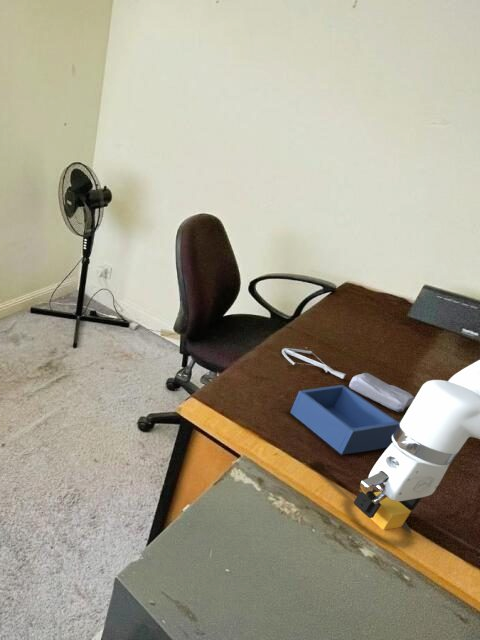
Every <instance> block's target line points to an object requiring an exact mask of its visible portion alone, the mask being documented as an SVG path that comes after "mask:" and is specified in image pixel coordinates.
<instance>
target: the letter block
mask: <svg viewBox="0 0 480 640" xmlns="http://www.w3.org/2000/svg"><path fill="white" fill-rule="evenodd" d="M373 493H374V494H375V495H376V496H377V495H379V494H380V493H382V491H380V490H379V491H374V492H373ZM379 503H380V504H381V506H380V507H379V509H378V510H377V512H376V514H375V515H374V517H373V518H370V520H371V521H373V522H374V523H375V524H376V526H378V527H379V528H380V529H381V530H383V531H385V530H391V529H396V528H402V527H401V526H402V525H403V523H404V522H406V520H407V519H408V517H409V516H410V514H411V512H412V510H409V509H408V508H406V507H405V506H404V505H403V504H402V503H400V502H399V501H393V500H391V499H390V498H389V497H388V496H387V497H386V498H385V499H383V500H382V501H380V502H379Z"/></svg>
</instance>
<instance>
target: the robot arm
mask: <svg viewBox="0 0 480 640" xmlns="http://www.w3.org/2000/svg"><path fill="white" fill-rule="evenodd" d="M407 408H408V409H406V412H405V414H404V415H403V416H402V419H401V420H400V422H399V425H398V427H397V428H396V430H395V432H394V434H393V435H392V441H391V442H390V444H389V446H388V447H387V448H386V449H385V450H384V452H383V453H382V454H381V455H380V456H379V458H378V459H377V461H376V462H375V464H374V465H373V467H372V469H371V470H370V472H369V474H368V477H366V478H365V479H363V480H361V481H360V483H359V488H358V489H359V492H358V494H357V496H356V498H355V499H354V501H353V504H354V506H355V507H357V509H358V510H360V511H361V512H362V513H363V514H364V515H365V516H366V517H367V518H369V519H371V518H373V517H374V515H375V514H376V512H377V510H378V509H379V507H380V506H381V504H380V503H379V502H380V501H382V500H383V499H385V498H386V497H387V496H388V497H389V498H390V499H391V500H393V501H399V502H400V503H402V504H403V505H404V506H405V507H406V508H408V509H409V510H410V511H412V510H415V508H416V507H417V505H418V504H419V503H420V501H421V499H422V498H425V497H429V496H431V495H433V494H434V493H435V491H436V490H437V488H438V486H439V485H440V483H441V482H442V479H443V478H444V476H445V475H446V472H447V470H448V469H449V466H450V465H451V464H452V462H453V461H454V459H455V458H456V457H457V455H458V454H459V452H460V450H461V449H462V447H463V446H465V443H466V442H467V440H468V439H469V438H475V439H478V440H480V359H478V360H476V361H475V362H473V363H471V364H469V365H467V366H466V367H464V368H462V369H461V370H459V371H458V372H456V373H455V374H453V375H452V376H451V377H450V378H449V379H448V380H443V379H432V380H431V379H430V380H427V381H425V382H424V383H423V384H422V385H421V387H420V389H419V390H418V392H417V394H416V395H415V397H414V398H413V402H412V403H411V405H409V406H408V407H407ZM381 485H384V488H383V486H381ZM374 488H377V490H379V492H380V491H382V493H380V494H379V495H377V496H376V495H375V494H374V493H375V492H373V490H374Z"/></svg>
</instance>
